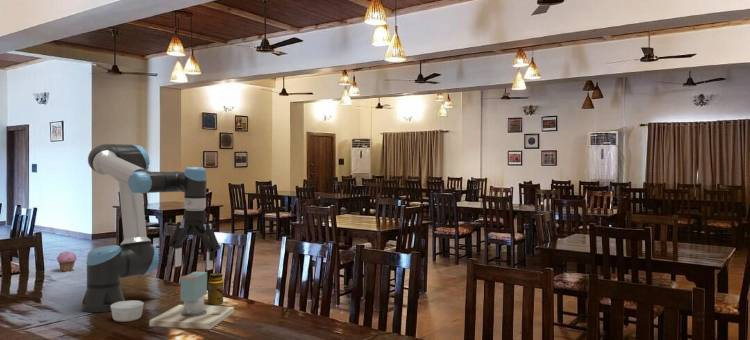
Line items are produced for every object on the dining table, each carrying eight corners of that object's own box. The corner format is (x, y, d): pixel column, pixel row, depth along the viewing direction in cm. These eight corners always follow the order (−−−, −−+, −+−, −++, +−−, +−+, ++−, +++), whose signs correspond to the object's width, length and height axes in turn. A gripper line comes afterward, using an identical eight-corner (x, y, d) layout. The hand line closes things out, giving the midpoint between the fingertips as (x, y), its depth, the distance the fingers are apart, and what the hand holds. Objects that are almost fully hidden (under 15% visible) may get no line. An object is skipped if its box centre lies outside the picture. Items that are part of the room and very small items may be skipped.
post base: (149, 326, 192) (149, 319, 192) (179, 309, 214) (179, 303, 214) (210, 329, 189) (210, 322, 189) (234, 312, 211) (234, 306, 211)
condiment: (226, 304, 223) (226, 274, 223) (205, 307, 218) (205, 276, 218) (220, 300, 229) (221, 271, 229) (200, 303, 224) (200, 273, 224)
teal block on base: (191, 307, 208) (191, 270, 208) (209, 307, 207) (209, 271, 207) (177, 315, 196) (177, 277, 196) (196, 316, 195) (197, 277, 195)
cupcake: (54, 271, 285) (54, 251, 285) (72, 268, 291) (72, 249, 291) (61, 273, 279) (61, 253, 279) (79, 271, 286) (79, 251, 286)
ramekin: (122, 324, 194) (122, 309, 194) (103, 319, 200) (103, 304, 200) (150, 317, 203) (150, 303, 203) (131, 312, 209) (131, 298, 209)
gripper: (159, 208, 202) (158, 266, 202) (218, 212, 194) (216, 272, 194) (173, 206, 209) (172, 263, 209) (230, 210, 201) (229, 268, 201)
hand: (193, 267), depth 202 cm, fingers open, 13 cm apart
